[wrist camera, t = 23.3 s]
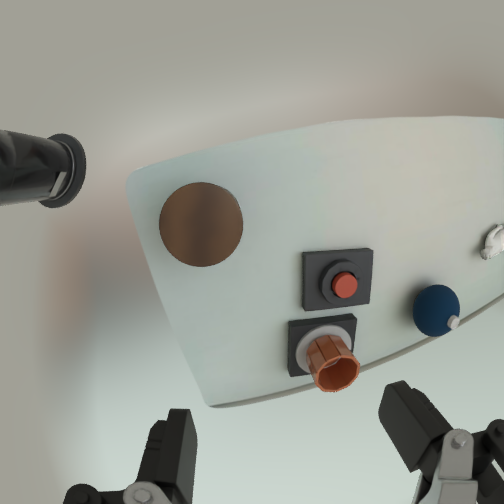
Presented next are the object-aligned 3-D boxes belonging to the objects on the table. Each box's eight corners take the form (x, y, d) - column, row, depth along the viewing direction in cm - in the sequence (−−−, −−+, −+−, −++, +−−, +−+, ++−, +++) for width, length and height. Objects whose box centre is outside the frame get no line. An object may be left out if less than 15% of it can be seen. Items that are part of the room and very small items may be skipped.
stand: (181, 248, 36) (163, 269, 26) (176, 187, 34) (155, 186, 25) (242, 244, 36) (245, 264, 27) (238, 182, 35) (240, 179, 25)
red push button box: (302, 306, 39) (307, 315, 36) (302, 252, 37) (308, 257, 34) (364, 299, 39) (373, 307, 37) (368, 248, 38) (378, 252, 35)
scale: (287, 369, 41) (290, 379, 39) (288, 320, 39) (291, 329, 37) (346, 361, 42) (351, 369, 39) (352, 313, 40) (358, 320, 37)
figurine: (525, 243, 37) (489, 278, 36) (513, 242, 41) (475, 274, 40) (522, 212, 36) (486, 241, 35) (510, 211, 40) (471, 239, 39)
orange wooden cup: (304, 370, 38) (313, 396, 33) (305, 335, 37) (317, 358, 31) (342, 364, 39) (355, 387, 33) (346, 329, 37) (362, 351, 32)
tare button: (331, 295, 36) (334, 299, 35) (332, 272, 35) (335, 276, 34) (352, 293, 36) (356, 296, 35) (354, 271, 36) (358, 274, 34)
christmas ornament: (415, 332, 42) (447, 359, 32) (396, 304, 40) (430, 331, 30) (445, 298, 41) (480, 319, 31) (428, 268, 39) (467, 286, 29)
